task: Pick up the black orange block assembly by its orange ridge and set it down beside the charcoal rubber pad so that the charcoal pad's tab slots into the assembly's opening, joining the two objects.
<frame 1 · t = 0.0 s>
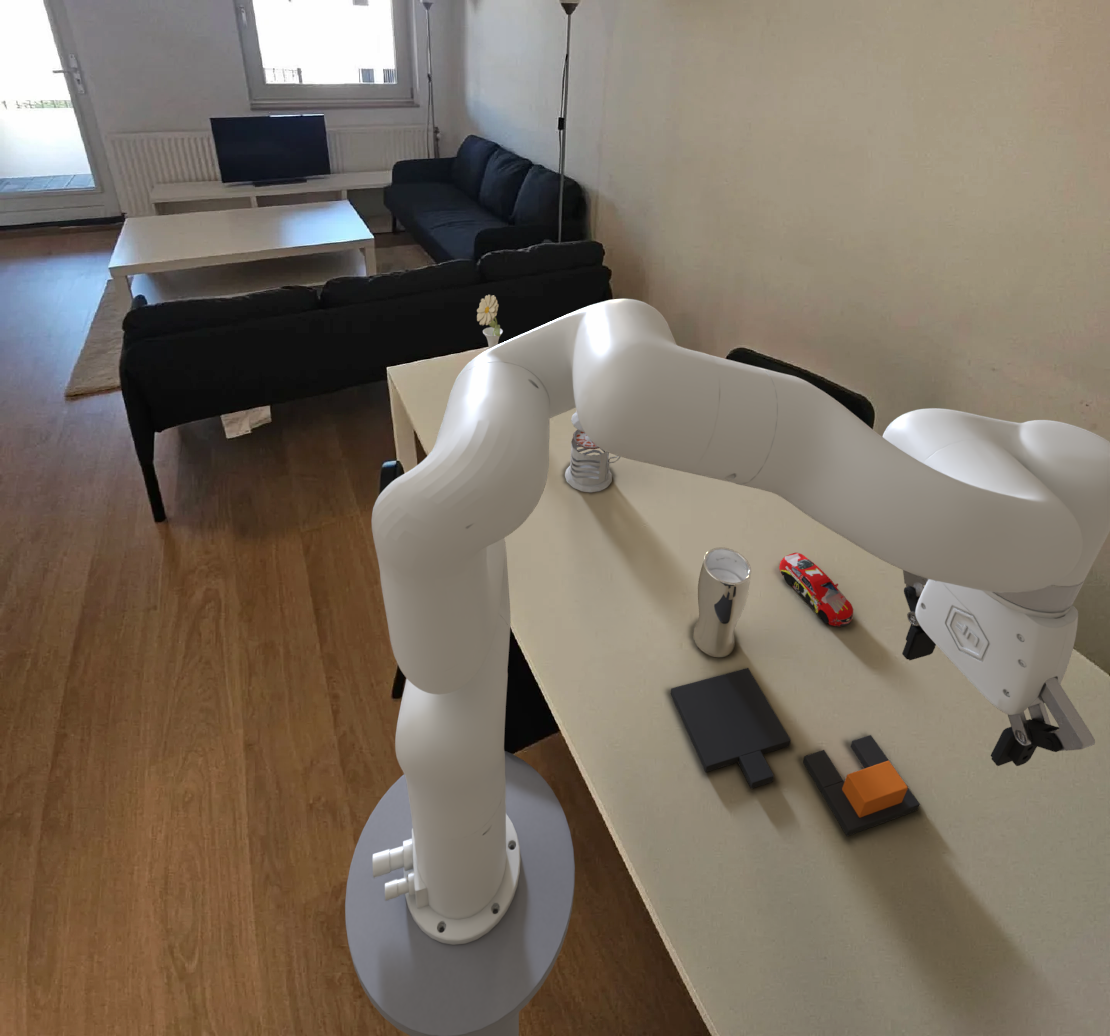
hand: (958, 702, 56), 27 cm above the table, tool pointing down, fingers open, 9 cm apart
black orange block assembly: (858, 785, 74), on the table
race car: (813, 595, 99), on the table
charcoal pad: (727, 719, 80), on the table
flower in vase: (493, 380, 158), on the table
beer glass: (713, 639, 91), on the table
french press: (592, 477, 124), on the table
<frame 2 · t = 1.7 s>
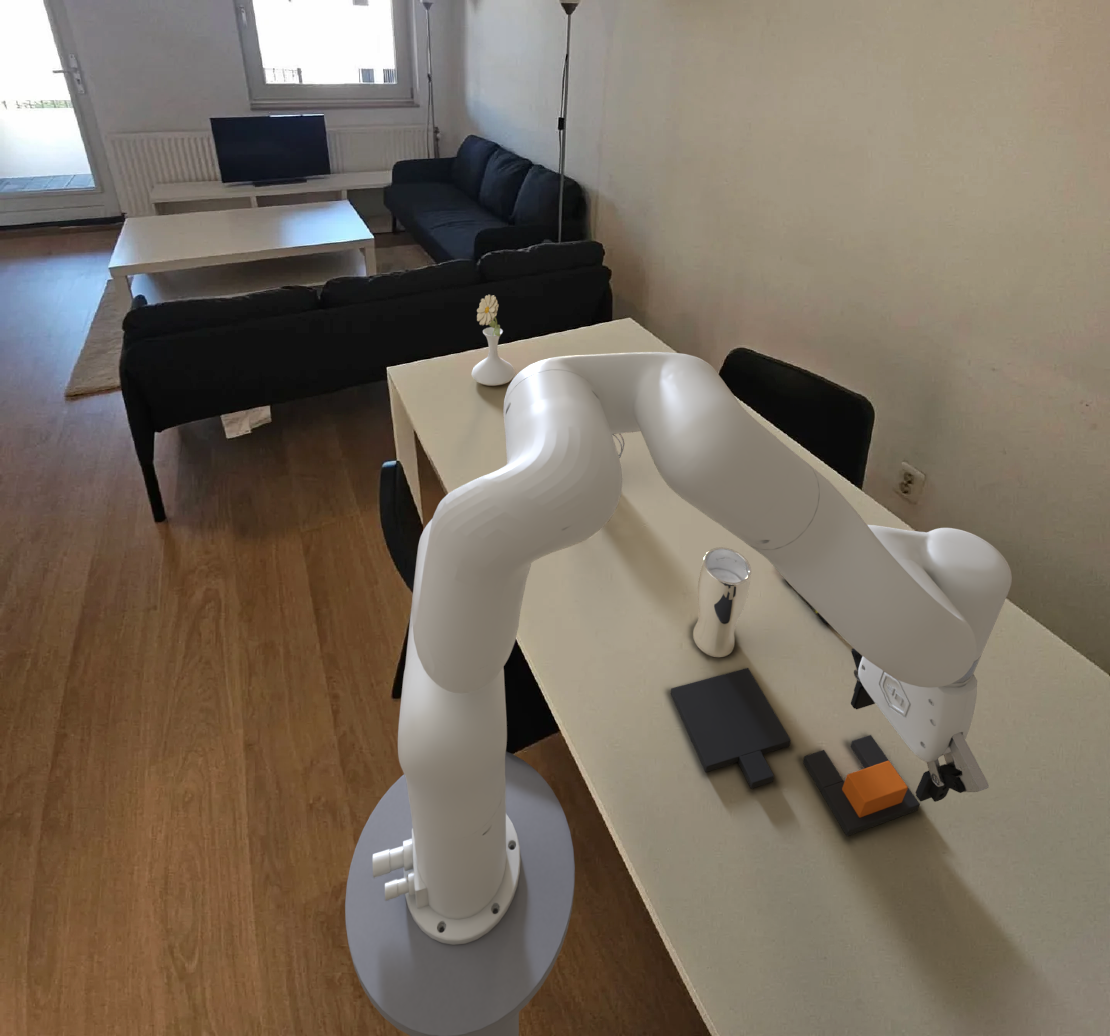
hand: (893, 746, 68), 11 cm above the table, tool pointing down, fingers open, 9 cm apart
nothing on the table moved.
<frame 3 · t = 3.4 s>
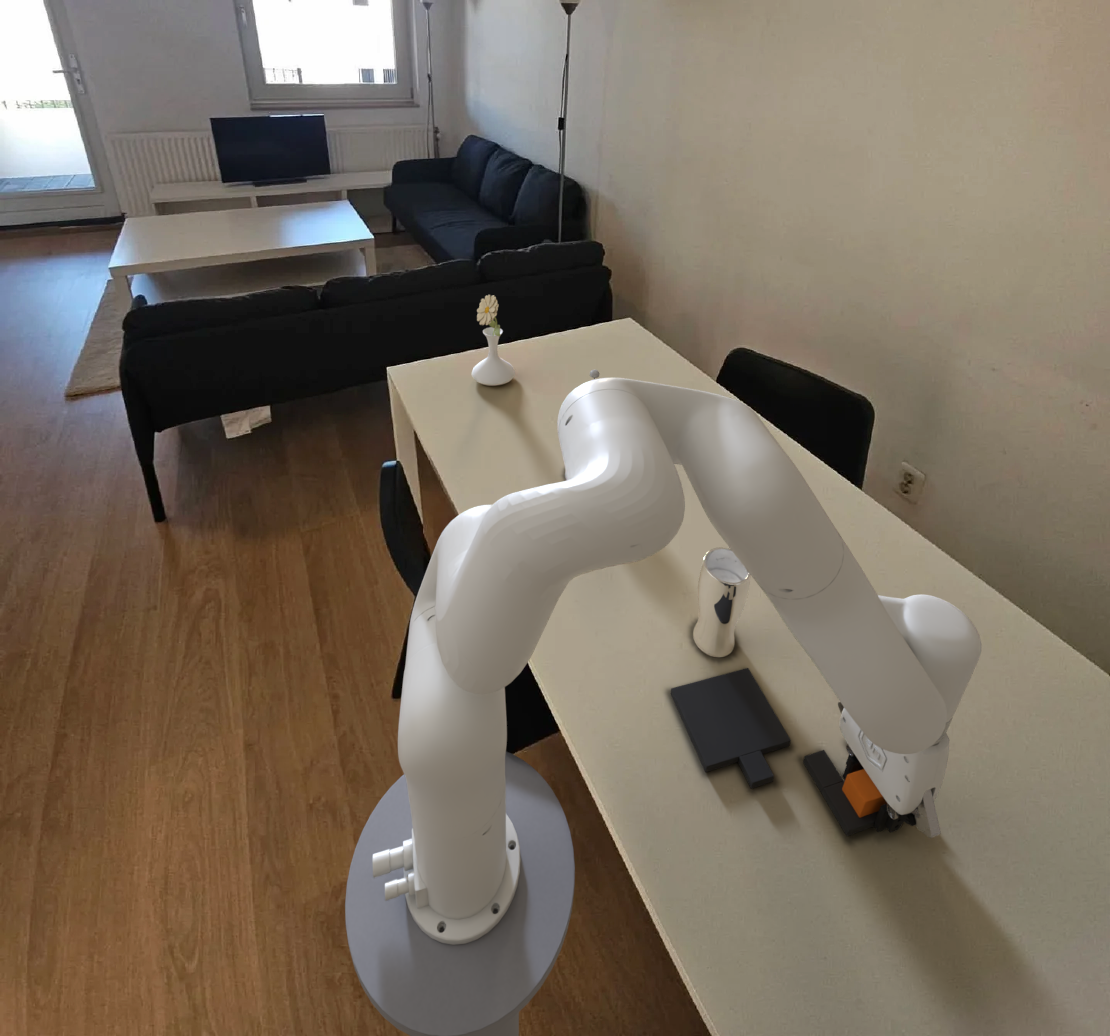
hand: (870, 799, 72), 1 cm above the table, tool pointing down, fingers closed on black orange block assembly, 4 cm apart
black orange block assembly: (858, 785, 74), on the table, touching gripper
everything else where it was.
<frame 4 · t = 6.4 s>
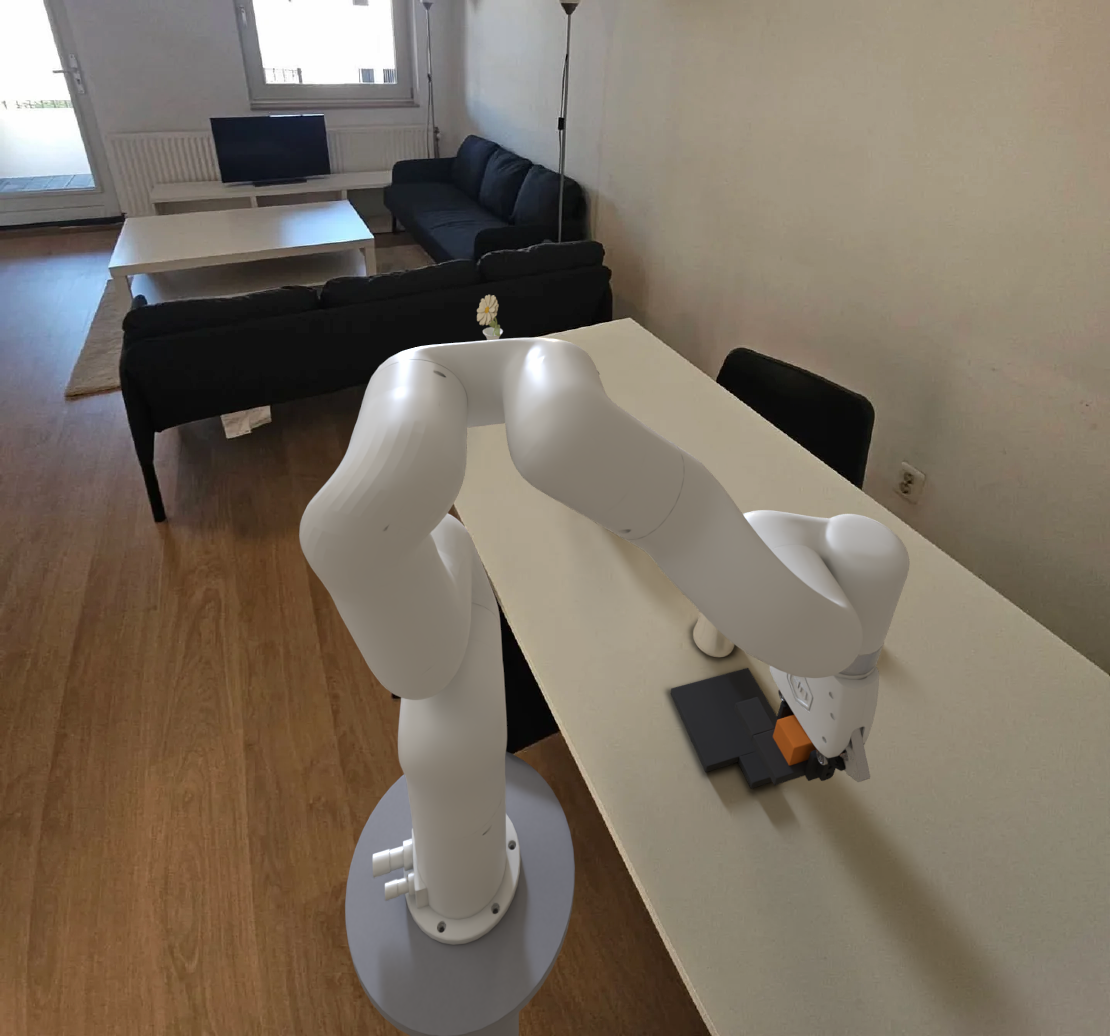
hand: (803, 747, 66), 12 cm above the table, tool pointing down, fingers closed on black orange block assembly, 4 cm apart
black orange block assembly: (792, 733, 68), point 12 cm above the table, touching gripper
everything else where it was.
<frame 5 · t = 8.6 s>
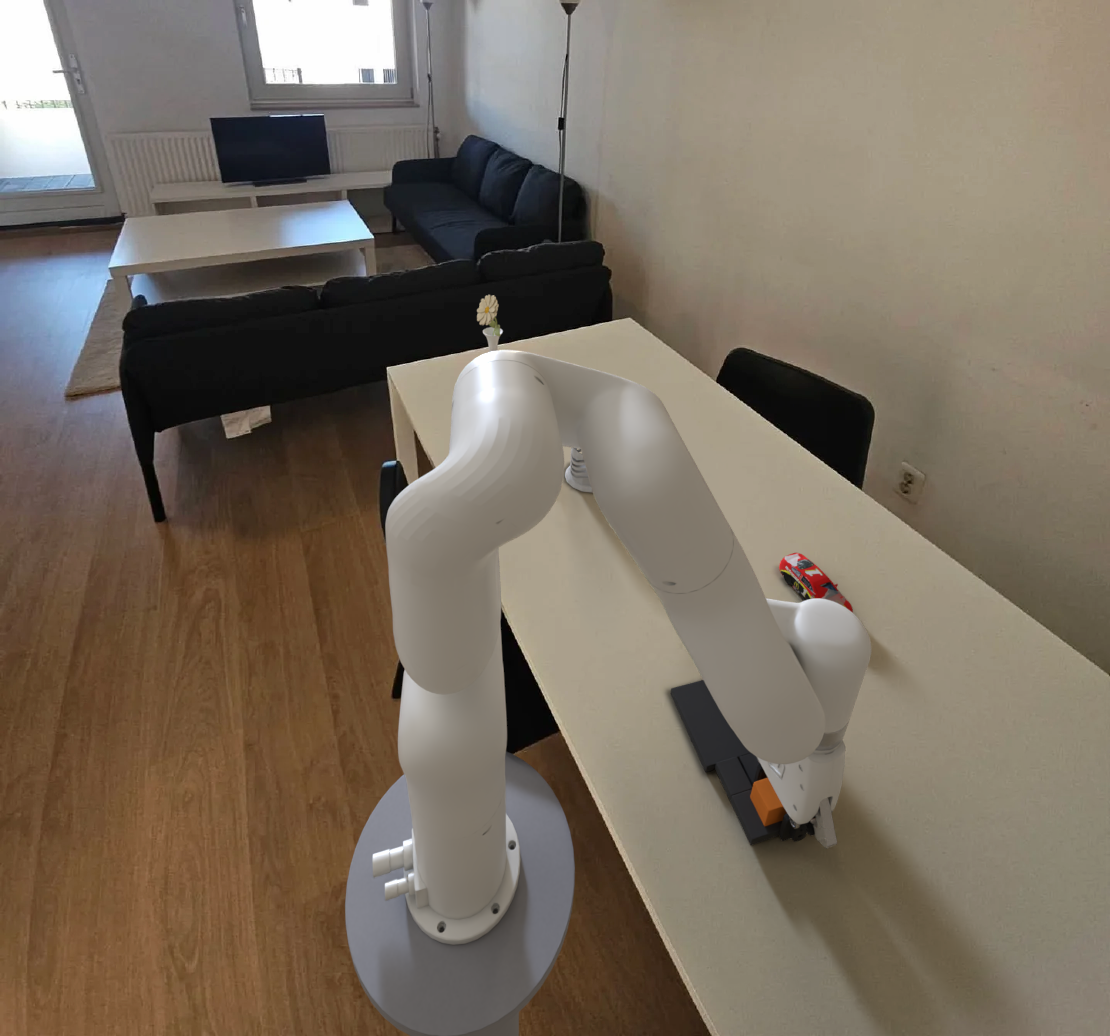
hand: (778, 807, 70), 1 cm above the table, tool pointing down, fingers closed on black orange block assembly, 4 cm apart
black orange block assembly: (768, 792, 72), point 1 cm above the table, touching gripper
everything else where it was.
when the fingers open (1 cm above the table, at t = 9.5 s): black orange block assembly stays where it is, on the table.
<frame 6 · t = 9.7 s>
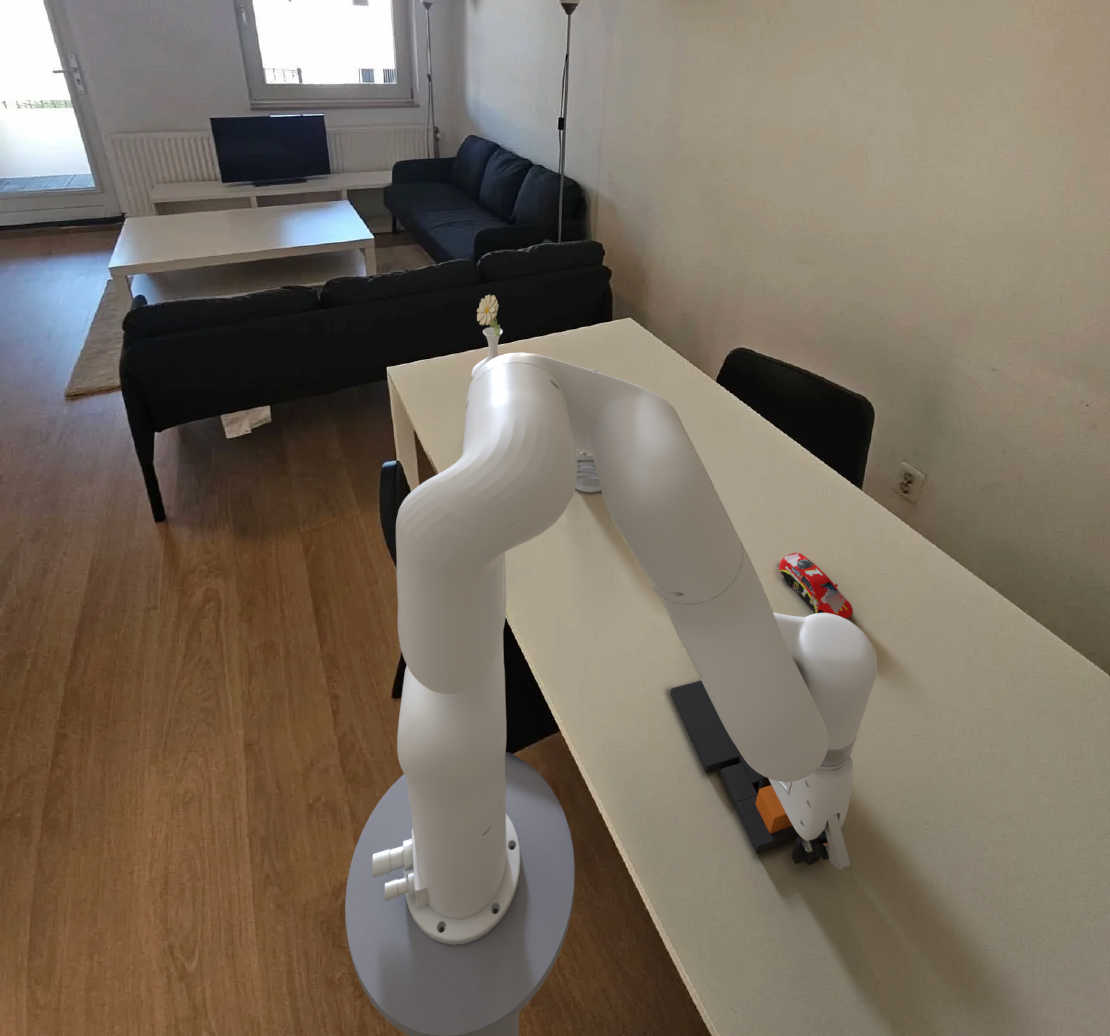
hand: (787, 820, 69), 1 cm above the table, tool pointing down, fingers open, 6 cm apart
black orange block assembly: (773, 799, 72), on the table, touching gripper
everything else where it was.
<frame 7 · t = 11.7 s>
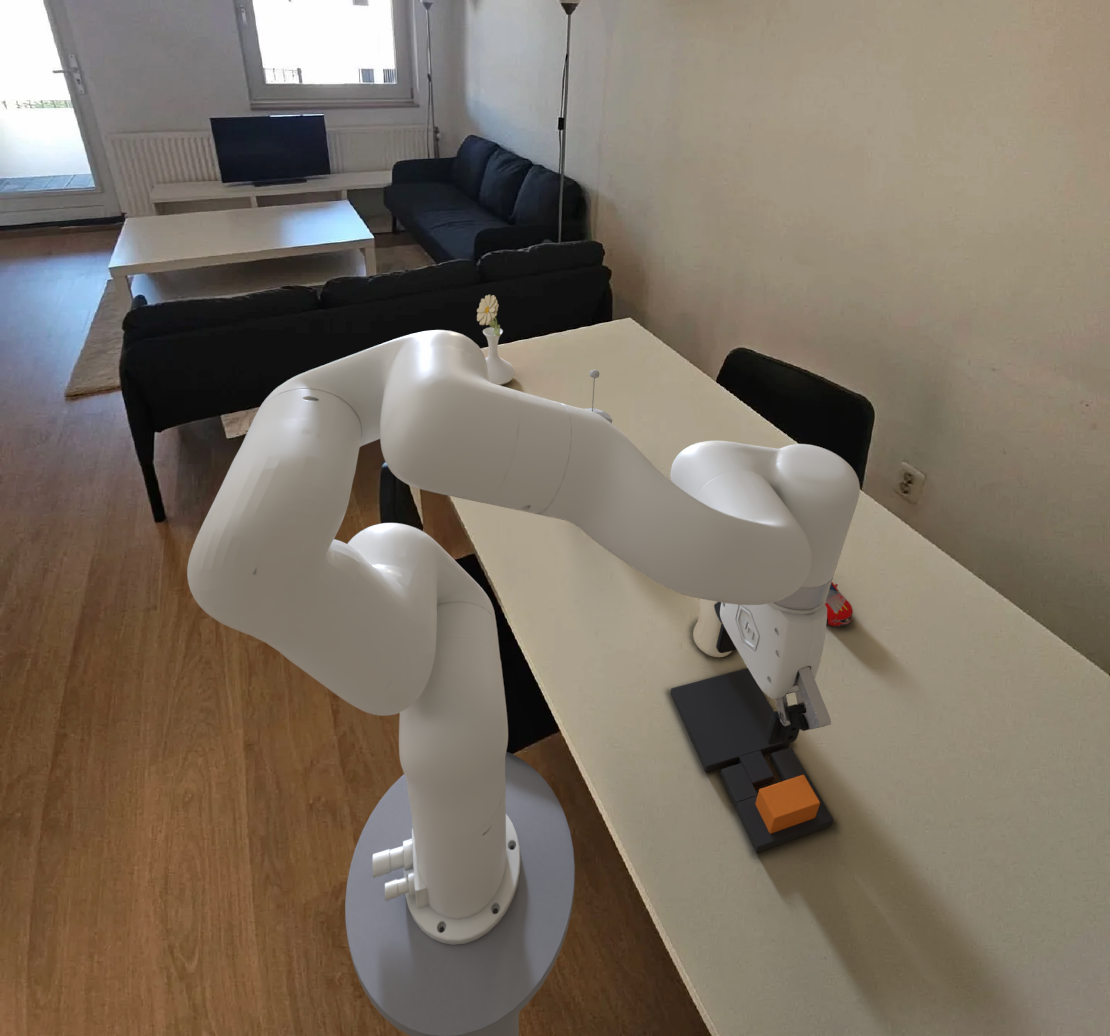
hand: (753, 690, 63), 20 cm above the table, tool pointing down, fingers open, 9 cm apart
black orange block assembly: (774, 799, 72), on the table
everything else where it was.
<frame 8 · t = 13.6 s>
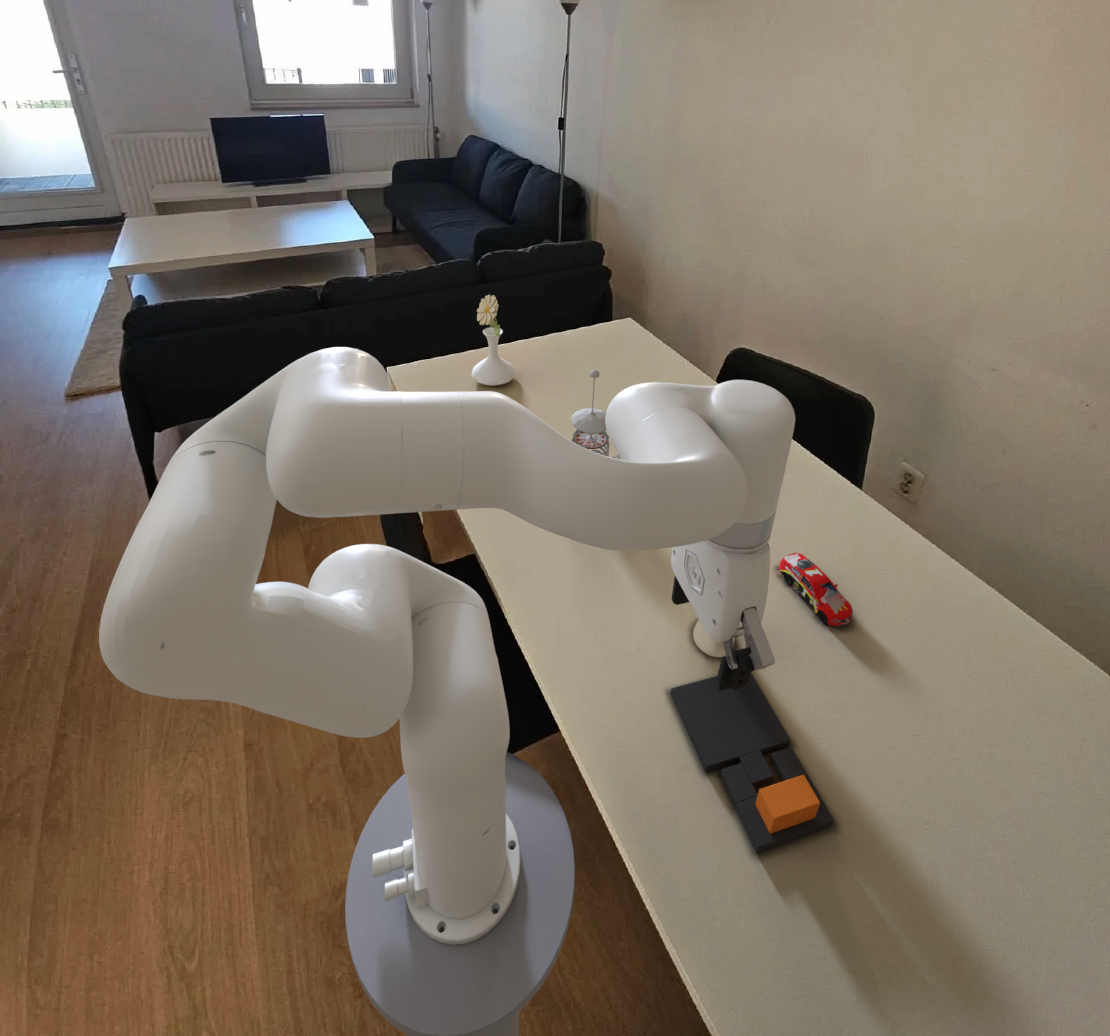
hand: (707, 639, 62), 26 cm above the table, tool pointing down, fingers open, 9 cm apart
nothing on the table moved.
at the end: black orange block assembly 0.8 cm from the target spot on the table beside the charcoal pad, on the table; black orange block assembly tilted 0°; the gripper is holding nothing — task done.
